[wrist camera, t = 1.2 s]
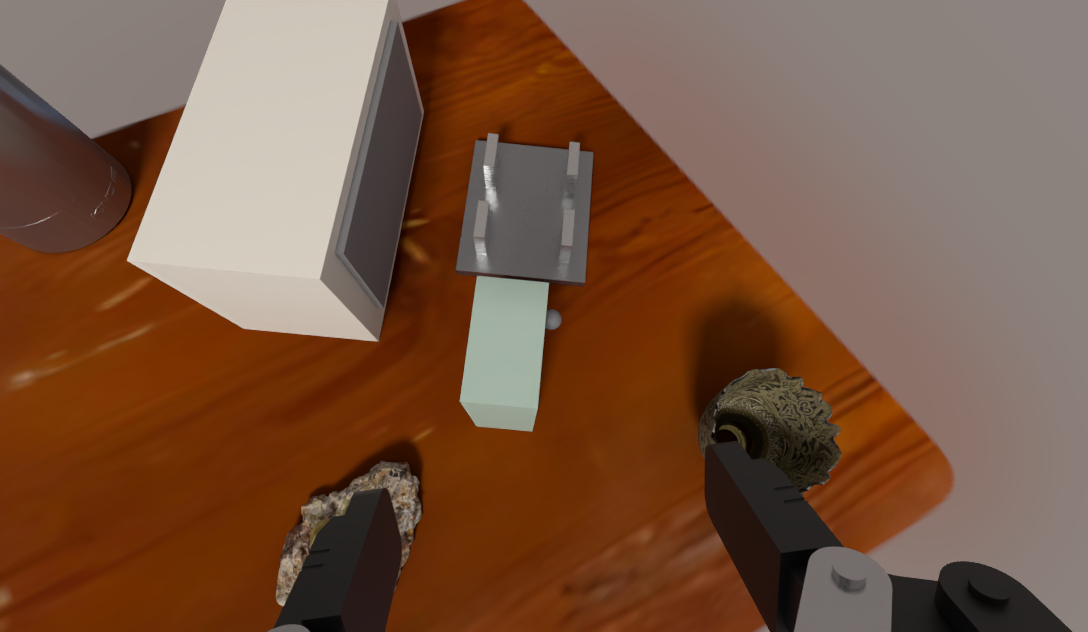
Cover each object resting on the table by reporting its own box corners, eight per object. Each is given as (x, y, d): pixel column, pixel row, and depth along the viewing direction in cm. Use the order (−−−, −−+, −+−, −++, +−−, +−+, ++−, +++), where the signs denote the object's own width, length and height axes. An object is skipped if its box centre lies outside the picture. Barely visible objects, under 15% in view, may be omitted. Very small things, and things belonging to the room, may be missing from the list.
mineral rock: (345, 666, 30) (232, 585, 29) (350, 635, 34) (251, 564, 33) (462, 507, 33) (364, 431, 32) (454, 497, 37) (367, 428, 37)
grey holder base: (456, 274, 40) (451, 253, 37) (476, 146, 44) (472, 115, 41) (583, 286, 40) (590, 266, 37) (592, 158, 44) (598, 128, 41)
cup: (741, 375, 39) (795, 347, 31) (796, 466, 37) (868, 461, 29) (656, 417, 37) (691, 400, 30) (708, 515, 35) (760, 522, 28)
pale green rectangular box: (476, 426, 37) (459, 401, 26) (488, 332, 39) (477, 275, 28) (546, 432, 37) (557, 410, 26) (553, 339, 39) (566, 284, 29)
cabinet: (243, 328, 38) (127, 260, 27) (309, 99, 45) (238, -33, 33) (385, 342, 38) (329, 280, 27) (429, 112, 45) (399, -15, 34)
